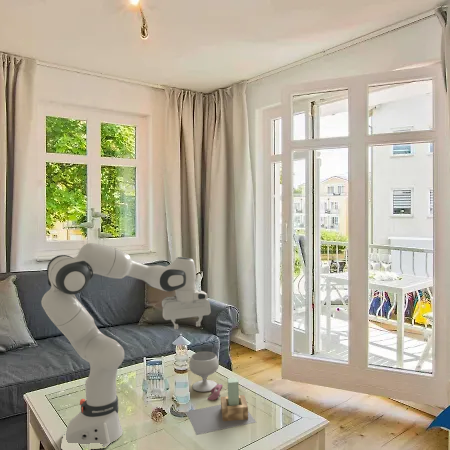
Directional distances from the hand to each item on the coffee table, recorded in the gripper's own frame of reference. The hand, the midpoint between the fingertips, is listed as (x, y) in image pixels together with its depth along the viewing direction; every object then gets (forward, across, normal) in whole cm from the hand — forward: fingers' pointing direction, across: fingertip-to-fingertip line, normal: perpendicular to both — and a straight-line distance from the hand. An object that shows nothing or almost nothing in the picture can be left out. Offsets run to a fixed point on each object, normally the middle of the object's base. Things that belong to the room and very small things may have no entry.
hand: (187, 327), depth 173 cm
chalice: (+35, +11, +17) cm, 41 cm away
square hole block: (+34, +15, -14) cm, 39 cm away
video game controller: (+35, +13, +5) cm, 38 cm away
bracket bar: (+34, +15, -14) cm, 39 cm away
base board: (+35, +9, -14) cm, 39 cm away
